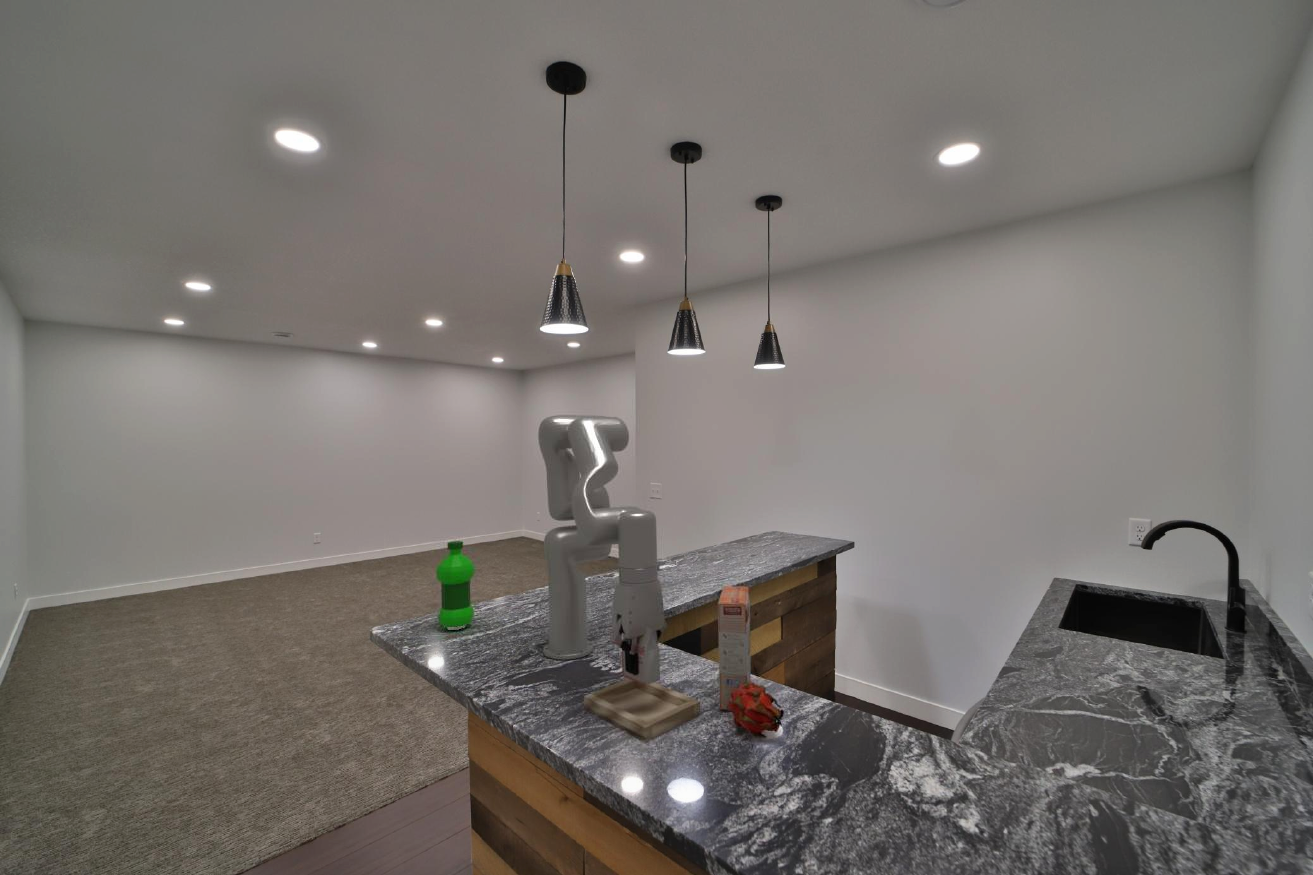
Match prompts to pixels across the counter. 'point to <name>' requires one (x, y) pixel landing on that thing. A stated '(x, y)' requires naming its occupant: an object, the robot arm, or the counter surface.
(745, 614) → the cracker box
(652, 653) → the white cardboard box
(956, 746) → the counter surface
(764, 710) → the dragon fruit
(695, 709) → the wooden tray
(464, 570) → the plastic bottle
